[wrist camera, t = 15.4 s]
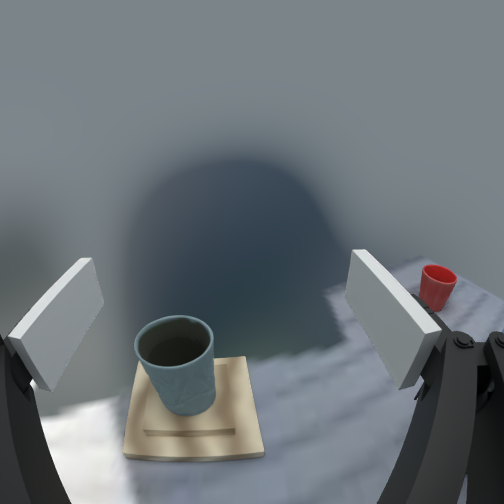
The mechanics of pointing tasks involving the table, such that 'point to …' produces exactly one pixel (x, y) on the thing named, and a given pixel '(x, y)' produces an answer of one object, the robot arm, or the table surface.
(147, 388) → the stepped square base
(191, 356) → the blue-grey embossed cup
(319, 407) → the table surface
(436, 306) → the flower pot
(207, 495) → the table surface
